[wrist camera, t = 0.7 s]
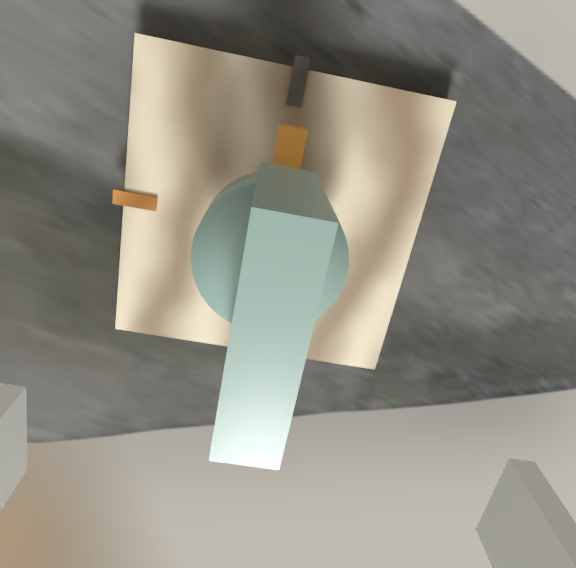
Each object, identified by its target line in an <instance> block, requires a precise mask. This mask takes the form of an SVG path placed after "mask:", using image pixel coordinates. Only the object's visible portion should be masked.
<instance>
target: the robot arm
mask: <svg viewBox="0 0 576 568" xmlns="http://www.w3.org/2000/svg"><path fill="white" fill-rule="evenodd" d="M26 470H27V410H26V387H23V386H16V385H10V384H3V383H0V510H1V509H2V507H3V506H4V504H5V503H6V501H7V500H8V498H9V497H10V495H11V494H12V492H13V490H14V489H15V487H16V486H17V484H18V483H19V481H20V480H21V478H22V476H23V475H24V473H25V472H26ZM476 530H477V532H478V535H479V537H480V539H481V542H482V544H483V546H484V548H485V551H486V553H487V555H488V558H489V560H490V562H491V564H492V567H493V568H576V523H575V521H574V520H573V518H572V517H571V516H570V514H569V512H568V511H567V509H566V508H565V507H564V505H563V504H562V502H561V501H560V499H559V497H558V496H557V494H556V493H555V492H554V490H553V489H552V487H551V486H550V484H549V483H548V481H547V480H546V478H545V477H544V475H543V474H542V472H541V471H540V469H539V468H538V466H537V465H536V463H535V462H531V461H523V460H517V459H509V460H508V462H507V464H506V466H505V469H504V471H503V473H502V475H501V477H500V479H499V481H498V484H497V486H496V488H495V490H494V492H493V494H492V496H491V498H490V501H489V503H488V505H487V507H486V509H485V511H484V513H483V515H482V517H481V520H480V522H479V524H478V526H477V528H476Z"/></svg>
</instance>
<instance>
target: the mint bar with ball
mask: <svg viewBox="0 0 576 568" xmlns="http://www.w3.org/2000/svg"><path fill="white" fill-rule="evenodd" d="M307 133H308V130H307V128H304V127H299V126H294V125H289V124H284V123H279V129H278V134H277V140H276V145H275V151H274V157H273V162H272V163H267V162H262V161H260V166H259V171H258V172H256V173H252V174H248V175H245V176H243V177H241V178H238V179H236V180H235V181H233V182H231V183H230V184H228V185H227V186H226V187H225V188H223V189H222V190H221V191H220V192H219V193H218V194H217V195H216V196H215V198H214V199H213V201H212V202H211V203H210V205H209V207H208V209H207V211H206V213H205V214H204V216H203V218H202V220H201V222H200V224H199V226H198V228H197V230H196V232H195V235H194V238H193V242H192V247H191V270H192V274H193V278H194V281H195V284H196V286H197V288H198V290H199V292H200V294H201V296H202V297H203V299H204V300H205V302H206V303H207V304H208V305H209V306H210V307H211V308H212V310H213V311H214V312H216V313H217V314H218V315H219V316H220V317H222V318H223V319H225V320H226V321H228V322H230V323H232V325H231V331H230V337H229V343H228V349H227V355H226V361H225V367H224V373H223V379H222V385H221V390H220V396H219V402H218V408H217V414H216V420H215V426H214V432H213V438H212V444H211V450H210V457H209V461H214V462H221V463H229V464H236V465H243V466H251V467H258V468H265V469H274V470H279V469H280V465H281V461H282V456H283V452H284V448H285V444H286V440H287V436H288V431H289V427H290V423H291V419H292V415H293V411H294V406H295V402H296V398H297V394H298V390H299V386H300V381H301V377H302V373H303V369H304V365H305V361H306V356H307V352H308V348H309V344H310V340H311V336H312V331H313V327H314V323H315V320H316V319H317V318H319V317H320V316H321V315H322V314H324V313H325V312H326V311H327V310H328V309H329V308H330V307H331V306H332V304H333V303H334V302H335V301H336V299H337V298H338V296H339V295H340V293H341V291H342V289H343V286H344V284H345V281H346V278H347V274H348V268H349V250H348V244H347V240H346V237H345V234H344V232H343V229H342V227H341V224H340V222H339V220H338V218H337V215H336V213H335V211H334V209H333V207H332V205H331V204H330V202H329V200H328V197H327V195H326V193H325V191H324V188H323V186H322V184H321V181H320V179H319V177H318V174H317V172H314V171H309V170H304V169H300V168H301V163H302V158H303V153H304V148H305V143H306V138H307Z"/></svg>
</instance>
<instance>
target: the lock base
mask: <svg viewBox="0 0 576 568" xmlns="http://www.w3.org/2000/svg"><path fill="white" fill-rule="evenodd" d="M310 60H311V58H309V57H304V56H300V55H295V59H294V64H293V66H288V65H283V64H279V63H274V62H269V61H264V60H260V59H255V58H250V57H246V56H241V55H236V54H232V53H227V52H222V51H218V50H213V49H208V48H203V47H199V46H194V45H189V44H185V43H180V42H175V41H171V40H166V39H161V38H157V37H152V36H147V35H142V34H138V33H135V37H134V52H133V67H132V83H131V98H130V113H129V128H128V143H127V159H126V174H125V189H124V191H122V190H117V189H113V203H112V204H117V205H123V219H122V234H121V250H120V265H119V280H118V295H117V310H116V326H115V329H120V330H126V331H132V332H139V333H145V334H151V335H158V336H164V337H171V338H177V339H183V340H190V341H196V342H203V343H209V344H215V345H222V346H228V343H229V337H230V331H231V325H232V323H230V322H228V321H226V320H225V319H223V318H222V317H220V316H219V315H218V314H217V313H216V312H214V311H213V310H212V308H211V307H210V306H209V305H208V304H207V303H206V302H205V300H204V299H203V297H202V296H201V294H200V292H199V290H198V288H197V286H196V284H195V281H194V278H193V274H192V270H191V247H192V242H193V238H194V235H195V232H196V230H197V228H198V226H199V224H200V222H201V220H202V218H203V216H204V214H205V213H206V211H207V209H208V207H209V205H210V203H211V202H212V201H213V199H214V198H215V196H216V195H217V194H218V193H219V192H220V191H221V190H222V189H223V188H225V187H226V186H227V185H228V184H230V183H231V182H233V181H235V180H236V179H238V178H241V177H243V176H245V175H248V174H252V173H256V172H258V171H259V166H260V161H262V162H267V163H272V162H273V157H274V151H275V145H276V140H277V134H278V129H279V123H284V124H289V125H294V126H299V127H304V128H307V130H308V133H307V138H306V143H305V148H304V153H303V158H302V163H301V168H300V169H304V170H309V171H314V172H317V174H318V177H319V179H320V181H321V184H322V186H323V188H324V191H325V193H326V195H327V197H328V200H329V202H330V204H331V205H332V207H333V209H334V211H335V213H336V215H337V218H338V220H339V222H340V224H341V227H342V229H343V232H344V234H345V237H346V240H347V244H348V250H349V268H348V274H347V278H346V281H345V284H344V286H343V289H342V291H341V293H340V295H339V296H338V298H337V299H336V301H335V302H334V303H333V304H332V306H331V307H330V308H329V309H328V310H327V311H326V312H325V313H324V314H322V315H321V316H320V317H319V318H317V319H316V320H315V323H314V327H313V331H312V336H311V340H310V344H309V348H308V352H307V356H306V359H311V360H317V361H324V362H330V363H336V364H343V365H349V366H356V367H362V368H368V369H375V367H376V364H377V361H378V357H379V354H380V351H381V348H382V344H383V341H384V338H385V334H386V331H387V328H388V325H389V321H390V318H391V315H392V311H393V308H394V305H395V302H396V298H397V295H398V292H399V289H400V285H401V282H402V279H403V275H404V272H405V269H406V266H407V262H408V259H409V256H410V253H411V249H412V246H413V243H414V239H415V236H416V233H417V230H418V226H419V223H420V220H421V217H422V213H423V210H424V207H425V203H426V200H427V197H428V194H429V190H430V187H431V184H432V180H433V177H434V174H435V171H436V167H437V164H438V161H439V158H440V154H441V151H442V148H443V144H444V141H445V138H446V135H447V131H448V128H449V125H450V122H451V118H452V115H453V112H454V108H455V105H456V102H457V101H452V100H448V99H443V98H438V97H433V96H429V95H424V94H419V93H415V92H410V91H405V90H401V89H396V88H391V87H386V86H382V85H377V84H372V83H368V82H363V81H358V80H354V79H349V78H344V77H340V76H335V75H330V74H325V73H321V72H316V71H311V70H309V65H310Z"/></svg>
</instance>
